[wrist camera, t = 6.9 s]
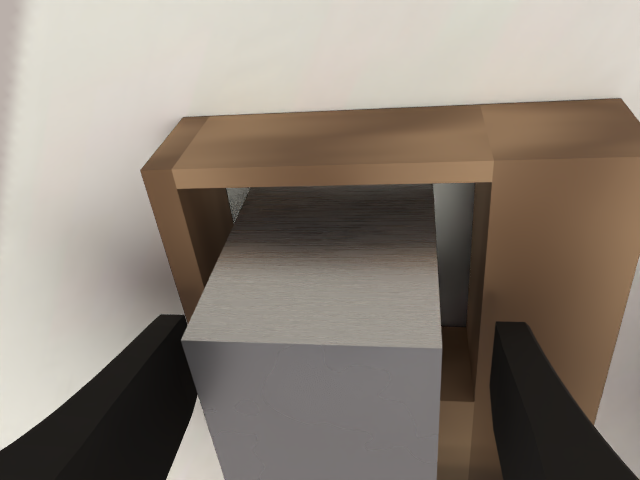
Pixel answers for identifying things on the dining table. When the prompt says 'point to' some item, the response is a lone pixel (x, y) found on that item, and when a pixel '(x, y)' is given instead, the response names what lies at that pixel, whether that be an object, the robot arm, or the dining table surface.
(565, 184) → the socket board
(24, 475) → the robot arm
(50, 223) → the dining table surface
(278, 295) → the peg
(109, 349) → the dining table surface
